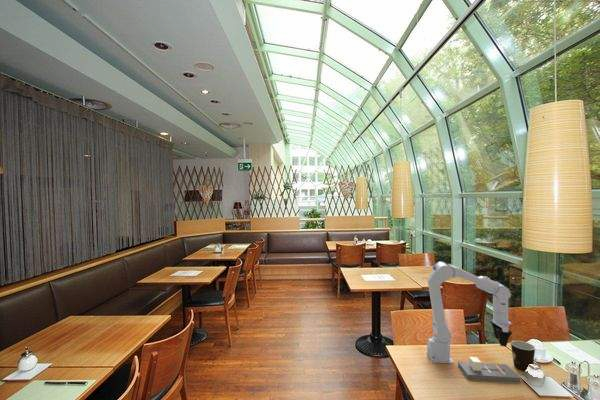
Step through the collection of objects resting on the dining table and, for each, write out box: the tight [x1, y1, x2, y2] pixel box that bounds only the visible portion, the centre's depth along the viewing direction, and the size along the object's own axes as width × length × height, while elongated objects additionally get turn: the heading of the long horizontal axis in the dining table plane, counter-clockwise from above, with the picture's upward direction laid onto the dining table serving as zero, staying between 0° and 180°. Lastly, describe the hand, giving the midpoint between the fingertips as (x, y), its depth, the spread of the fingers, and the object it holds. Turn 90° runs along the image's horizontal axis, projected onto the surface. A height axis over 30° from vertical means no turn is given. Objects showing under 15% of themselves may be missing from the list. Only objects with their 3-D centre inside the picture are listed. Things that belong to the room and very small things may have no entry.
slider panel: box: [457, 361, 522, 384], centre depth 128 cm, size 20×10×2 cm, turn 83°
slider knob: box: [468, 356, 482, 371], centre depth 128 cm, size 3×4×4 cm
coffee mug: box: [510, 340, 536, 373], centre depth 133 cm, size 12×9×10 cm
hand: (500, 342), depth 136 cm, fingers open, 7 cm apart
